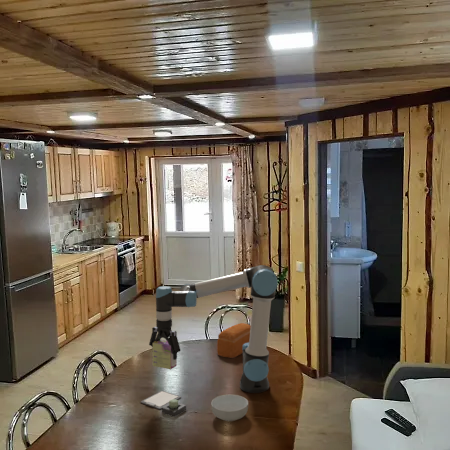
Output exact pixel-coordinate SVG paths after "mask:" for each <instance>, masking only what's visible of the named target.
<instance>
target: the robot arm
mask: <svg viewBox="0 0 450 450" xmlns="http://www.w3.org/2000/svg"><path fill="white" fill-rule="evenodd" d="M278 285H279V284H278V277H277V275H276V274H275V271H274V270H273V269H272V268H271V267H270V266H268V265H265V264H260V265H256V266H252V267H249V268H245V269H244V270H243V271H241V272H236V273H233V274H230V275H225V276H221V277H216V278H212V279H207V280H203V281H199V282H195V283H185V284H183V285H182V286H181V287H180V288H179V290H177V291H176V290H175V291H174V290H173V289H172V287H171V286H166V285H162V286H158V287H157V288H156V291H155V304H156V305H155V315H156V316H155V318H156V320H155V322H156V324H155V325H156V326H154V327H152V328H151V329H152V331H151V332H152V333H151V335H150V339H149V343H148V345H149V346H151V348H152V350H151V351H153V342H155V341H156V342H157V341H159V340H162V338H163V339H165V341H168V344H169V345H171V350H172V353H171V366H172V367H173V366H175V365H176V359H178V353H180V352H181V346H180V343H179V339H178V334H177V330H172V327H173V319H172V318H173V308H193V307H196V306H197V303H198V301H197V300H198V299H199V298H202V297H207V296H210V295H211V296H212V295H216V294H220V293H224V292H229V291H233V290H237V289H242V288H245V287H246V288H248V289H250V296H251V298H252V310H251V319H250V320H251V321H250V326H251V328H250V339H249V343H245V344H243V349H242V350H243V353H242V374H241V378H240V381H239V388H240V389H241V391H243V392H246V393H251V394H257V393H259V394H260V393H263V392H266V391H267V390H269V388H270V382H269V378H268V374H269V370H270V368H269V359H270V358H269V357H270V351H269V350H268V349H267V346H268V335H269V325H270V315H271V306H272V301H273V300H274V299H275V297H276V290H277V288H278Z"/></svg>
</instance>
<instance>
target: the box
mask: <svg viewBox="0 0 450 450" xmlns="http://www.w3.org/2000/svg"><path fill="white" fill-rule="evenodd" d="M171 353H172V350H171V345H169V344H168V341H167V340H162V339H160V340H159V341H157V342H156V341H155V342H153V350H152V367H156V368H162V369H166V370H172V369H175V367H177V364H178V363H177V362H178V361H177V359H178V358H177V359H176V365H175V366H173V367H172V366H171Z"/></svg>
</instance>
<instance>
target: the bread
mask: <svg viewBox="0 0 450 450" xmlns="http://www.w3.org/2000/svg"><path fill="white" fill-rule="evenodd" d="M250 328H251V324H248V323H243V322H240V323H238V324H234V325H232V326H230V327H228V328H226V329H224V330H222V331H221V332H220V333H219V334H218V336H217V337H218V338H217V342H216V343H217V344H216V348H217V349H216V350H217V355H218V356H220V357H224V358H231V359H234V358H236V357H238V356H241V355H243V350H242V349H243V344H245V343H249V339H250Z"/></svg>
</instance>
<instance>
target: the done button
mask: <svg viewBox="0 0 450 450" xmlns="http://www.w3.org/2000/svg"><path fill="white" fill-rule="evenodd" d="M178 403H179V399H178V400H176V399H173V400H170V401H169V407H170V408H172V409H176V408H177V407H178Z"/></svg>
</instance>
